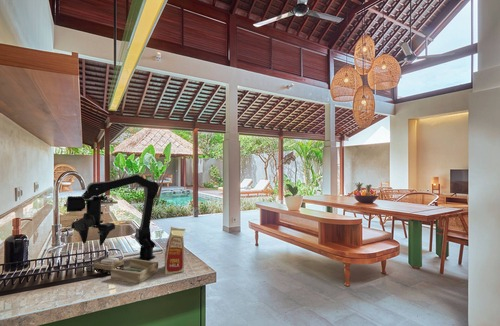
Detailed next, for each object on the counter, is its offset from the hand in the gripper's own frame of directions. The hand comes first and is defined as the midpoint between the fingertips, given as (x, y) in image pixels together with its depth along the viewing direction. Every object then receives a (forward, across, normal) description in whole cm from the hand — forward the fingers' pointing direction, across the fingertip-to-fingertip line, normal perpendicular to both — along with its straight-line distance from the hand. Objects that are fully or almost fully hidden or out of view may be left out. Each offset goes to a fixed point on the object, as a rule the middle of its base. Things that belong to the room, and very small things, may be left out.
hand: (92, 244), depth 120 cm
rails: (+11, +12, 0) cm, 16 cm away
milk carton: (+11, +36, +11) cm, 39 cm away
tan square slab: (+11, +8, 0) cm, 14 cm away
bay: (+11, +22, 0) cm, 25 cm away
